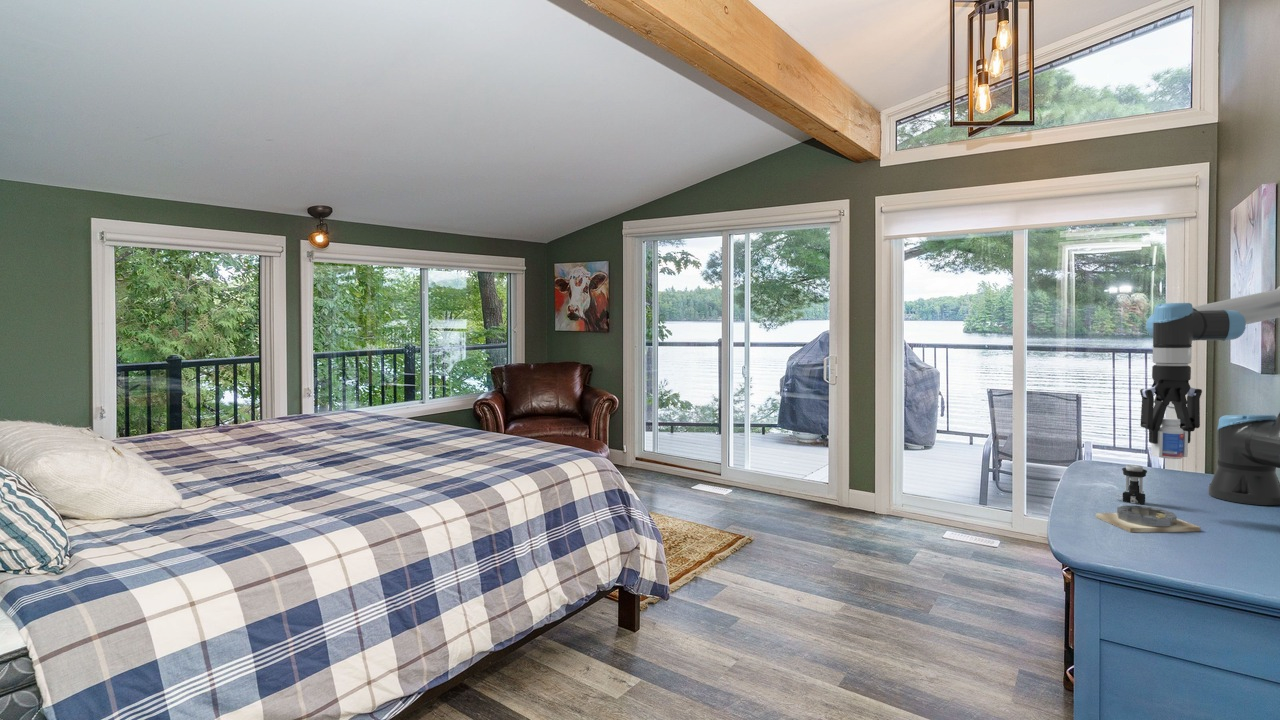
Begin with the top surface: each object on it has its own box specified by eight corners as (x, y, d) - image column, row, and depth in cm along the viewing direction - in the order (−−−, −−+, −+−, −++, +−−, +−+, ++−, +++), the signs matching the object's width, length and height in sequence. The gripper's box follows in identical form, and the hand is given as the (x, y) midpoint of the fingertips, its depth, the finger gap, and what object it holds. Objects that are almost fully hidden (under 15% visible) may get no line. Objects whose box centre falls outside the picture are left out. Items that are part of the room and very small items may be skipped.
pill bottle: (1184, 460, 159) (1185, 421, 159) (1157, 458, 162) (1157, 419, 162) (1181, 456, 164) (1182, 418, 163) (1154, 454, 167) (1154, 416, 166)
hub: (1151, 513, 162) (1152, 502, 162) (1187, 526, 151) (1188, 514, 151) (1107, 513, 162) (1107, 502, 162) (1139, 527, 151) (1139, 515, 151)
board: (1160, 516, 162) (1160, 512, 162) (1200, 531, 150) (1200, 527, 150) (1095, 517, 163) (1095, 513, 163) (1130, 532, 151) (1130, 528, 151)
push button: (1114, 502, 176) (1114, 465, 175) (1117, 498, 179) (1118, 462, 179) (1144, 506, 171) (1145, 469, 170) (1147, 502, 175) (1148, 465, 174)
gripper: (1197, 363, 165) (1194, 452, 166) (1123, 364, 166) (1121, 453, 167) (1222, 364, 158) (1219, 458, 159) (1144, 366, 158) (1142, 459, 160)
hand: (1169, 455), depth 163 cm, fingers closed on pill bottle, 5 cm apart
